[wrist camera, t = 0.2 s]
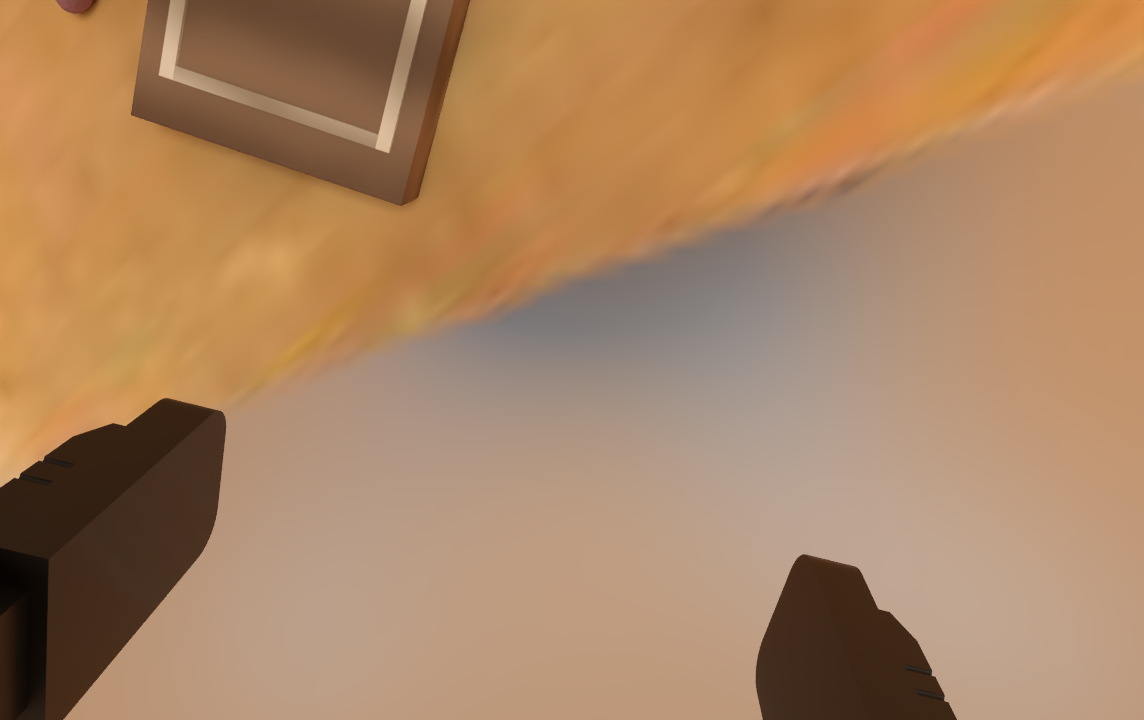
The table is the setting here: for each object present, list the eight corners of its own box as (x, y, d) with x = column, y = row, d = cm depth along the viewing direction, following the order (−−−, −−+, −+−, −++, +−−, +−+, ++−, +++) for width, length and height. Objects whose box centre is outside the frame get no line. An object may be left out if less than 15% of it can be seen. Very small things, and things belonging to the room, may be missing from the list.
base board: (219, -200, 34) (179, -229, 31) (496, -102, 35) (484, -121, 32) (168, 113, 38) (128, 115, 35) (417, 197, 39) (399, 206, 36)
